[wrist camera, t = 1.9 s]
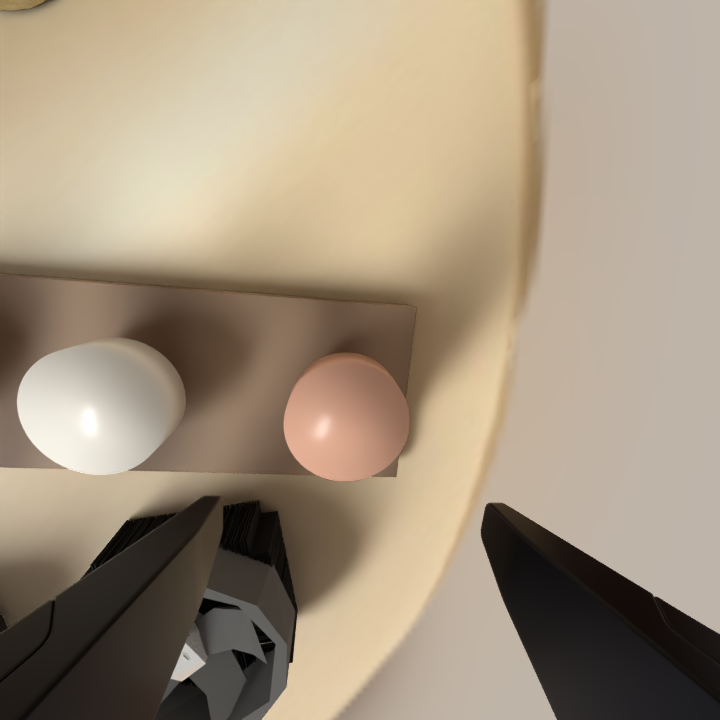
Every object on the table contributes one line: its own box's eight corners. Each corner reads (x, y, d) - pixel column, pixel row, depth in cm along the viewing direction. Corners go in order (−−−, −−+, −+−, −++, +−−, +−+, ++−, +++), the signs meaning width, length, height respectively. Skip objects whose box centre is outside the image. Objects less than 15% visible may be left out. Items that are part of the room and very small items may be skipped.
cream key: (67, 447, 15) (27, 473, 13) (52, 333, 14) (6, 343, 12) (187, 451, 15) (167, 476, 13) (183, 341, 14) (160, 352, 12)
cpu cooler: (268, 568, 14) (304, 735, 17) (285, 486, 20) (310, 621, 22) (7, 610, 14) (86, 777, 16) (99, 513, 19) (148, 649, 22)
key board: (-100, 447, 17) (-140, 464, 16) (-148, 261, 15) (-198, 260, 14) (391, 462, 20) (396, 477, 18) (409, 305, 18) (416, 307, 16)
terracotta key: (287, 454, 16) (281, 480, 14) (291, 348, 15) (285, 360, 13) (394, 457, 16) (402, 482, 14) (406, 355, 15) (417, 367, 13)
